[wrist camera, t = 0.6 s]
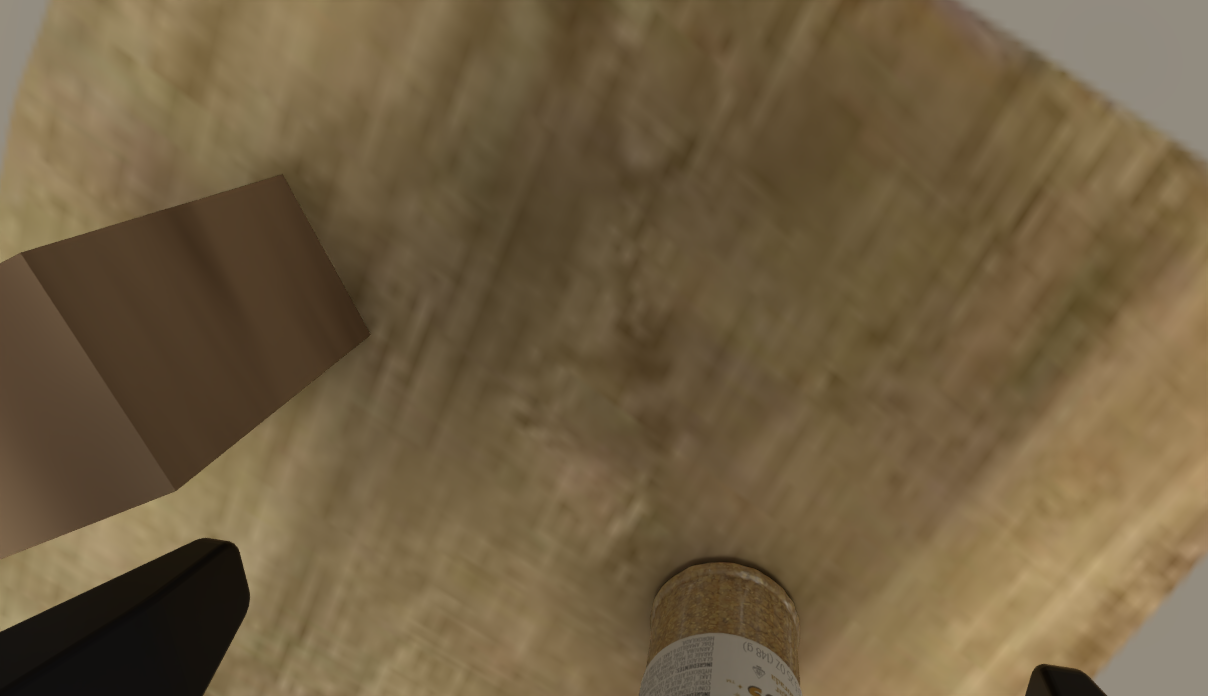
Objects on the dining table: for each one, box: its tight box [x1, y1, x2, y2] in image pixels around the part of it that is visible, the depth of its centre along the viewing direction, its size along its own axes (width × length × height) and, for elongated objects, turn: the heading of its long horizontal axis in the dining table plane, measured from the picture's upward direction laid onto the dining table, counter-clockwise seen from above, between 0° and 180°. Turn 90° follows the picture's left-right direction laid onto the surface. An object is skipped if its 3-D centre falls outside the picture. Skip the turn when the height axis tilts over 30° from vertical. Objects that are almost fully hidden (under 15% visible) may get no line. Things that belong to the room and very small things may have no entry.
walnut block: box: [0, 174, 370, 559], centre depth 20 cm, size 5×5×9 cm
